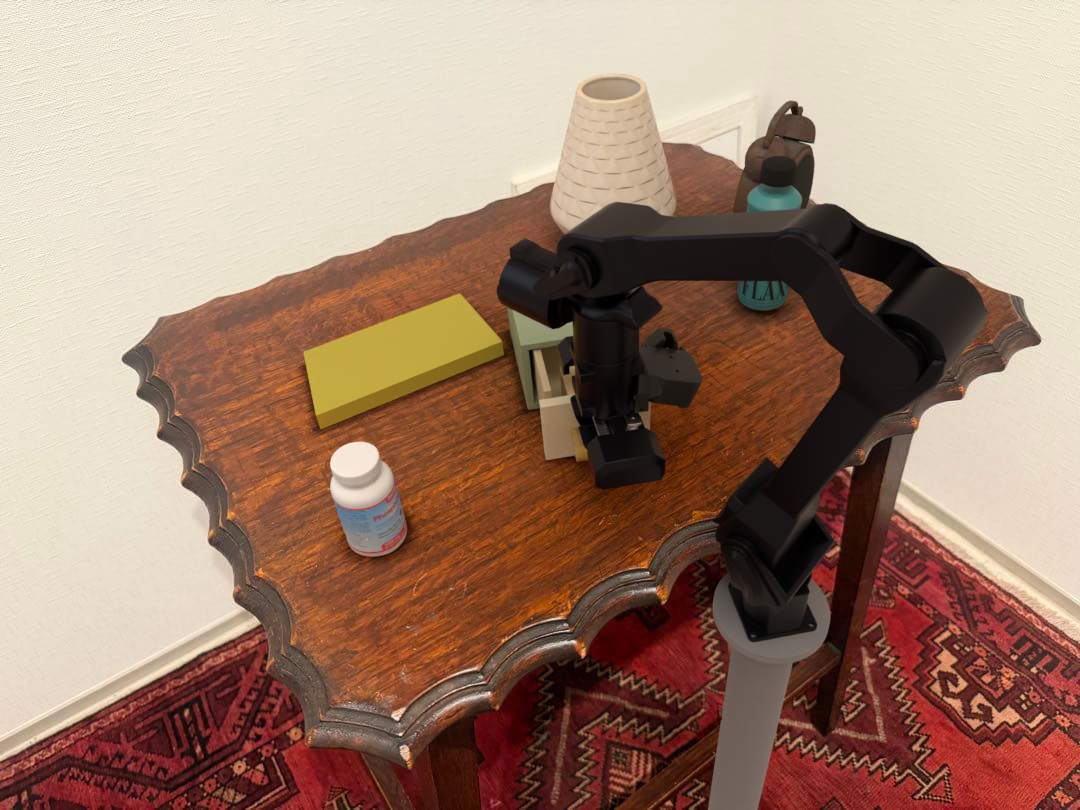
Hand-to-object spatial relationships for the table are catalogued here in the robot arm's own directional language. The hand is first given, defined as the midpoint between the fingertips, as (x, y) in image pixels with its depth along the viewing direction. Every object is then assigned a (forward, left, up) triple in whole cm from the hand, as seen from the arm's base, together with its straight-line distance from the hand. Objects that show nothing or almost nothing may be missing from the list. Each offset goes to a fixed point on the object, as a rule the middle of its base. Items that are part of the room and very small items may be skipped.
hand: (608, 465), depth 87 cm
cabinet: (+22, 0, -5) cm, 23 cm away
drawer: (+10, 0, -4) cm, 11 cm away
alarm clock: (+40, -32, -5) cm, 52 cm away
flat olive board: (+27, +21, -5) cm, 35 cm away
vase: (+46, -11, -5) cm, 48 cm away
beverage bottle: (+27, -26, -5) cm, 38 cm away
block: (+11, 0, -3) cm, 11 cm away
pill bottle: (0, +24, -5) cm, 24 cm away
